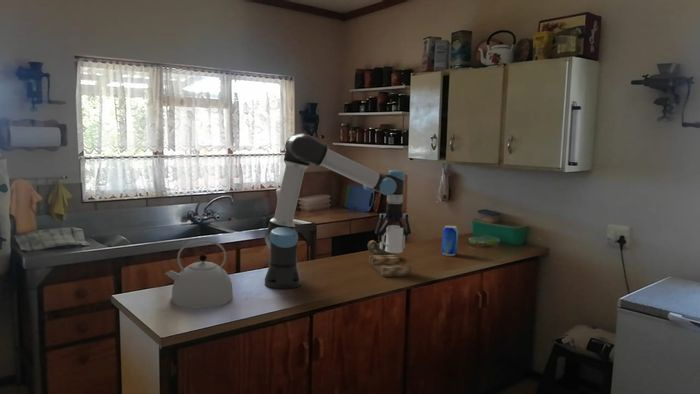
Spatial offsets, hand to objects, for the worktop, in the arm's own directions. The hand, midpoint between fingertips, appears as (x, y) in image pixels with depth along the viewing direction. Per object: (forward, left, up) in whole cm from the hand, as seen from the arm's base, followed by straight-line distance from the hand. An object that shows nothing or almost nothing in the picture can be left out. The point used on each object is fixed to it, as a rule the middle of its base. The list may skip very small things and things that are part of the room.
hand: (392, 248), depth 244 cm
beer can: (+44, +28, -11) cm, 53 cm away
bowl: (+3, +24, -11) cm, 27 cm away
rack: (0, +2, -11) cm, 11 cm away
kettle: (-88, -29, -11) cm, 93 cm away
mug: (0, 0, -2) cm, 2 cm away
